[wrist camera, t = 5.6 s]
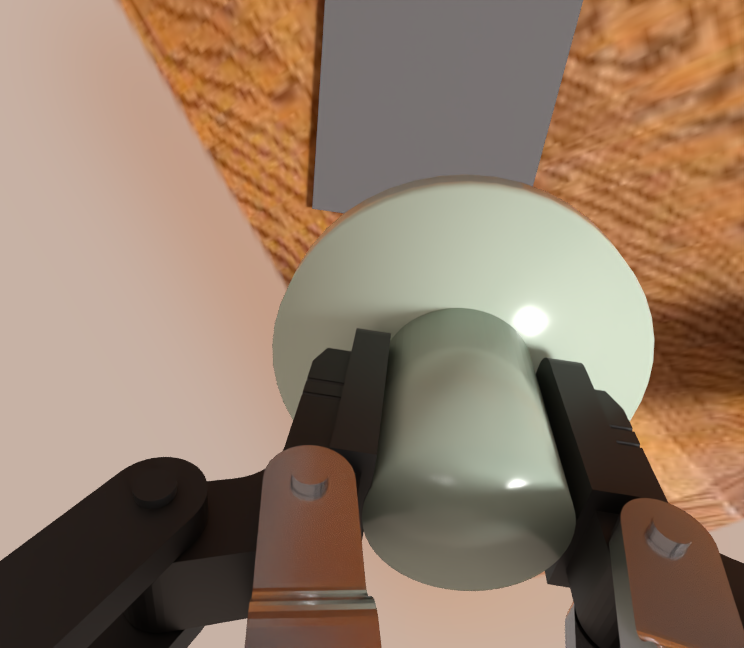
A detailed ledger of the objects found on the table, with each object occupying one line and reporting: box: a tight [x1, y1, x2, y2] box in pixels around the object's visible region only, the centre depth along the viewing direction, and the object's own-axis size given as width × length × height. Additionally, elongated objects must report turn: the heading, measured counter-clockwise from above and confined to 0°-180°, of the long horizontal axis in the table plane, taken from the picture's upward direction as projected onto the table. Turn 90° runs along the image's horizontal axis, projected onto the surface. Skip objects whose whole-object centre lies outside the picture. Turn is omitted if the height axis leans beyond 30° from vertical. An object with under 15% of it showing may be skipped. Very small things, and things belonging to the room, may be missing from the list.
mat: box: [312, 0, 583, 213], centre depth 29 cm, size 12×12×1 cm
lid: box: [272, 174, 654, 591], centre depth 10 cm, size 8×8×5 cm
